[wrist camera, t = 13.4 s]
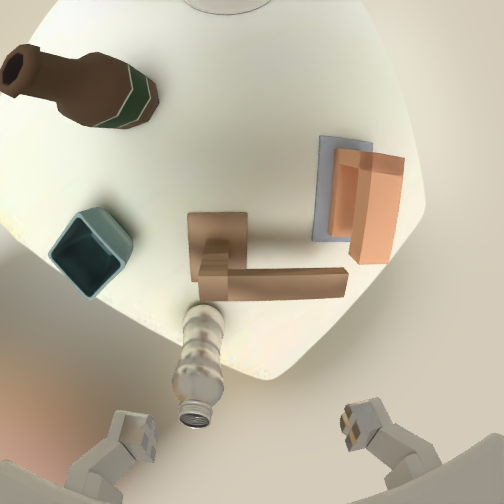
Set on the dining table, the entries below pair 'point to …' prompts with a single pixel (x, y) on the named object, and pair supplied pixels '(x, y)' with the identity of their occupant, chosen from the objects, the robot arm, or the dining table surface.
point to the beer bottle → (82, 86)
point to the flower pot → (91, 251)
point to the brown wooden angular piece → (248, 280)
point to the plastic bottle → (199, 366)
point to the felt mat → (330, 183)
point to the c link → (366, 202)
